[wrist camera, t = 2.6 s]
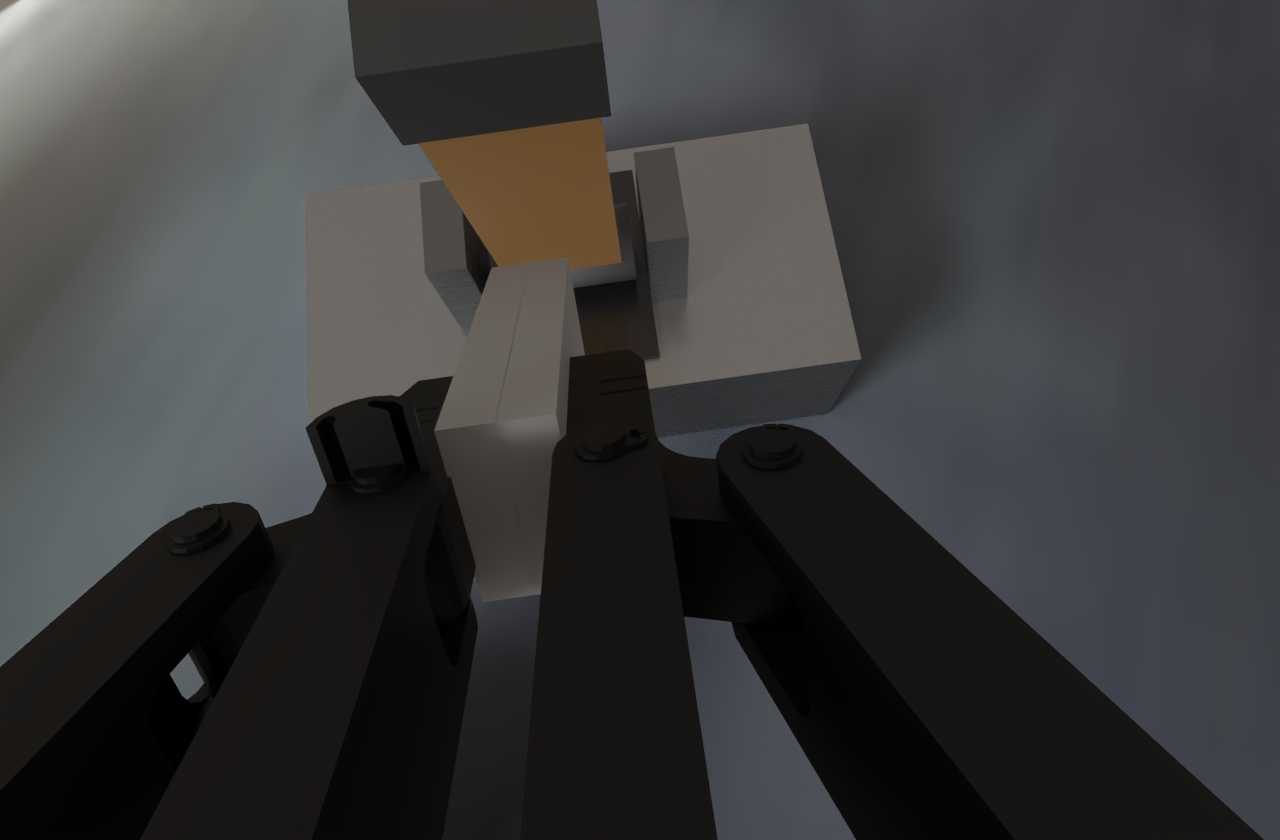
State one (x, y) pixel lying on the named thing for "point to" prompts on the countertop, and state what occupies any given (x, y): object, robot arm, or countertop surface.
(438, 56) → the lever
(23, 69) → the countertop surface
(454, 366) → the breaker box
